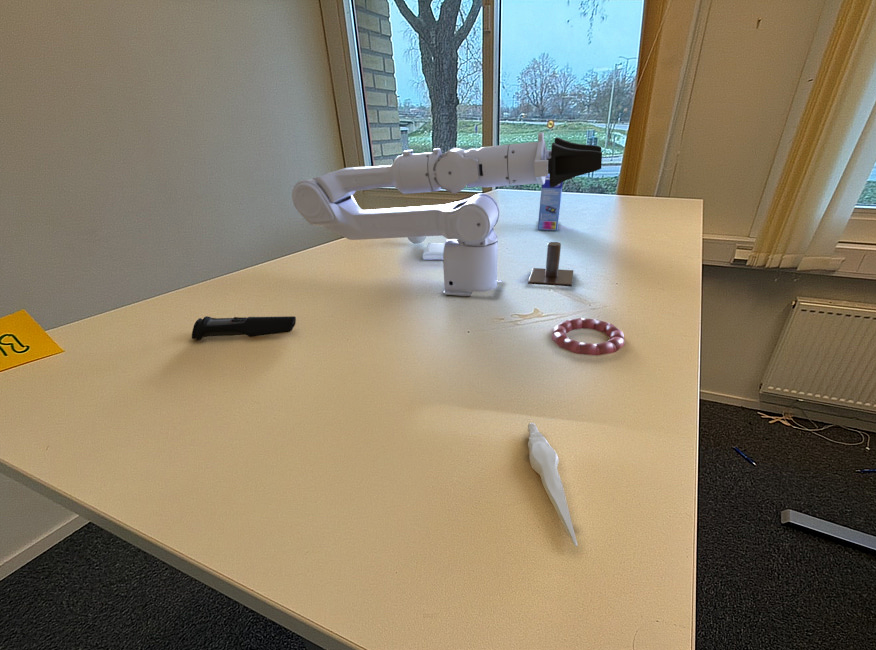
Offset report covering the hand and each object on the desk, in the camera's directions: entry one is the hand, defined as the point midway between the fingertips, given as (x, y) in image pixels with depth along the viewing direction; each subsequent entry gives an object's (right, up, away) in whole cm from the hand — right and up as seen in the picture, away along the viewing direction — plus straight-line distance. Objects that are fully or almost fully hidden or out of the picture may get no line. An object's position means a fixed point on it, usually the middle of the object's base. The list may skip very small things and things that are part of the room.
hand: (601, 157), depth 65 cm
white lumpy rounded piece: (-33, +6, +40) cm, 52 cm away
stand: (-4, -13, +19) cm, 24 cm away
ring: (-3, -27, -3) cm, 27 cm away
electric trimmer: (-54, -26, +2) cm, 60 cm away
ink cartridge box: (+2, +11, +53) cm, 55 cm away
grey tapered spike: (-12, -44, -25) cm, 52 cm away
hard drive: (-23, -3, +34) cm, 41 cm away
